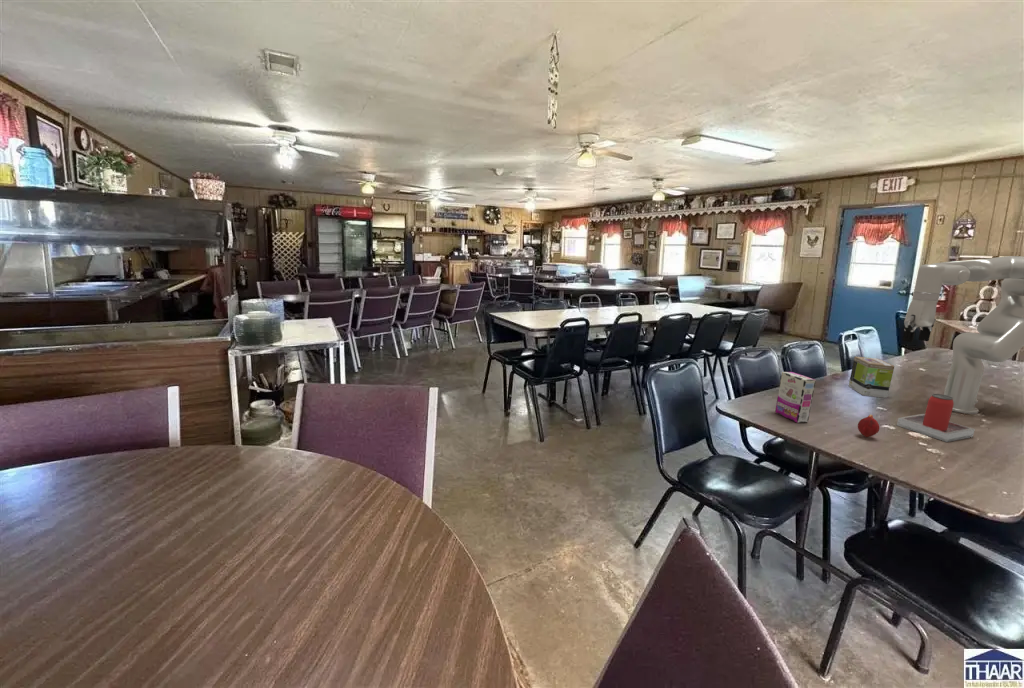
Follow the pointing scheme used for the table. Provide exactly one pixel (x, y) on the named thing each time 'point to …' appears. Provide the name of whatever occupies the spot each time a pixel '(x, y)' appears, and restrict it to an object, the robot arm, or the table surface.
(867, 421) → the onion
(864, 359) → the tea box
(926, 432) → the rimmed tray
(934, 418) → the beer can
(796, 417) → the candy bar box
